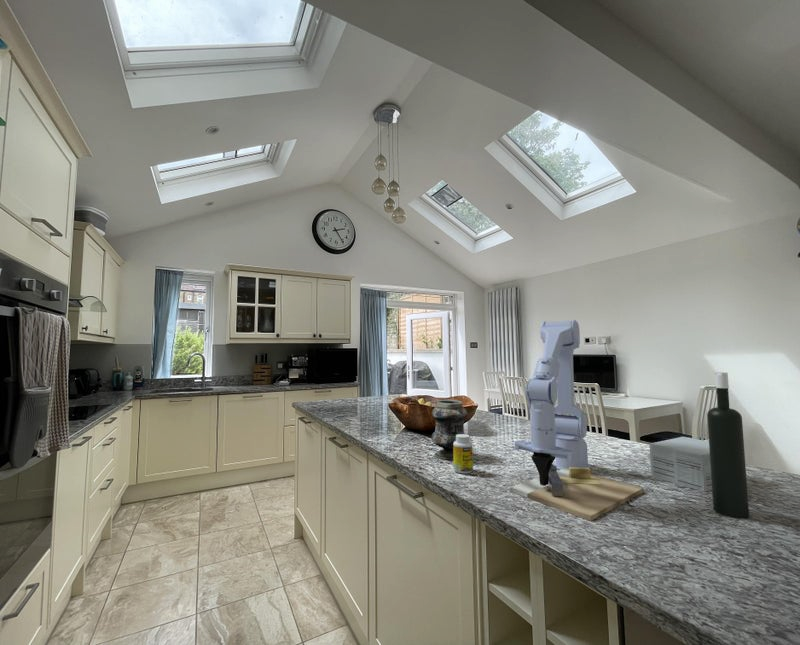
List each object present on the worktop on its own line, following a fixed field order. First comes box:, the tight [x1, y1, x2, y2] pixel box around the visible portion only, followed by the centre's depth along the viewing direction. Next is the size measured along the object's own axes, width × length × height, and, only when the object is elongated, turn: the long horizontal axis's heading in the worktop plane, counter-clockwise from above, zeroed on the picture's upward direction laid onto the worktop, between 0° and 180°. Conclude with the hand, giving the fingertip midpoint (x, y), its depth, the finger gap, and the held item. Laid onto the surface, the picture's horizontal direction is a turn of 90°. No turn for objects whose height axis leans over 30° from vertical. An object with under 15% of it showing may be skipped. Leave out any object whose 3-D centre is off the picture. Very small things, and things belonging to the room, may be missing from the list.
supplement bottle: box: [453, 433, 474, 475], centre depth 108 cm, size 6×6×10 cm
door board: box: [509, 467, 645, 522], centre depth 92 cm, size 26×20×4 cm
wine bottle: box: [706, 371, 750, 520], centre depth 81 cm, size 6×6×30 cm
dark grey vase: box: [431, 399, 468, 461], centre depth 125 cm, size 12×12×18 cm
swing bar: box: [548, 463, 563, 496], centre depth 93 cm, size 14×3×4 cm, turn 165°
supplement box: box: [648, 436, 712, 492], centre depth 101 cm, size 17×13×9 cm
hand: (544, 484), depth 91 cm, fingers closed, pressing on swing bar
